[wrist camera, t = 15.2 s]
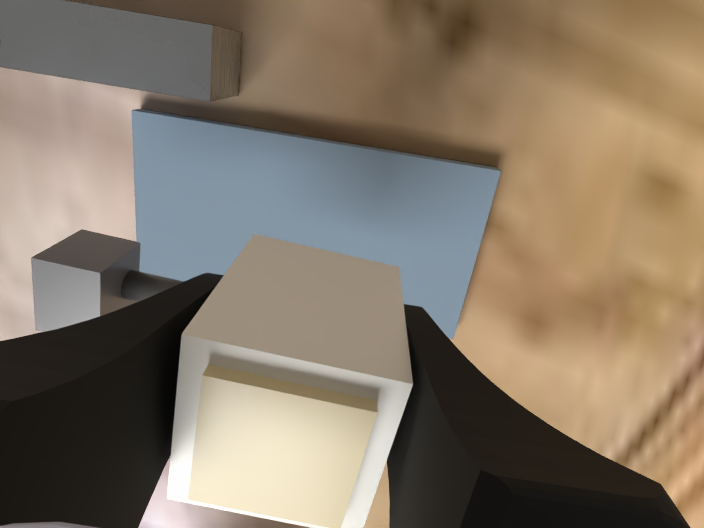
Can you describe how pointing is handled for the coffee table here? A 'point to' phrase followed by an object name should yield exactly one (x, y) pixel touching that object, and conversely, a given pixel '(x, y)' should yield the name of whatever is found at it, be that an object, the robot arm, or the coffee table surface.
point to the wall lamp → (263, 372)
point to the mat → (306, 204)
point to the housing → (120, 48)
